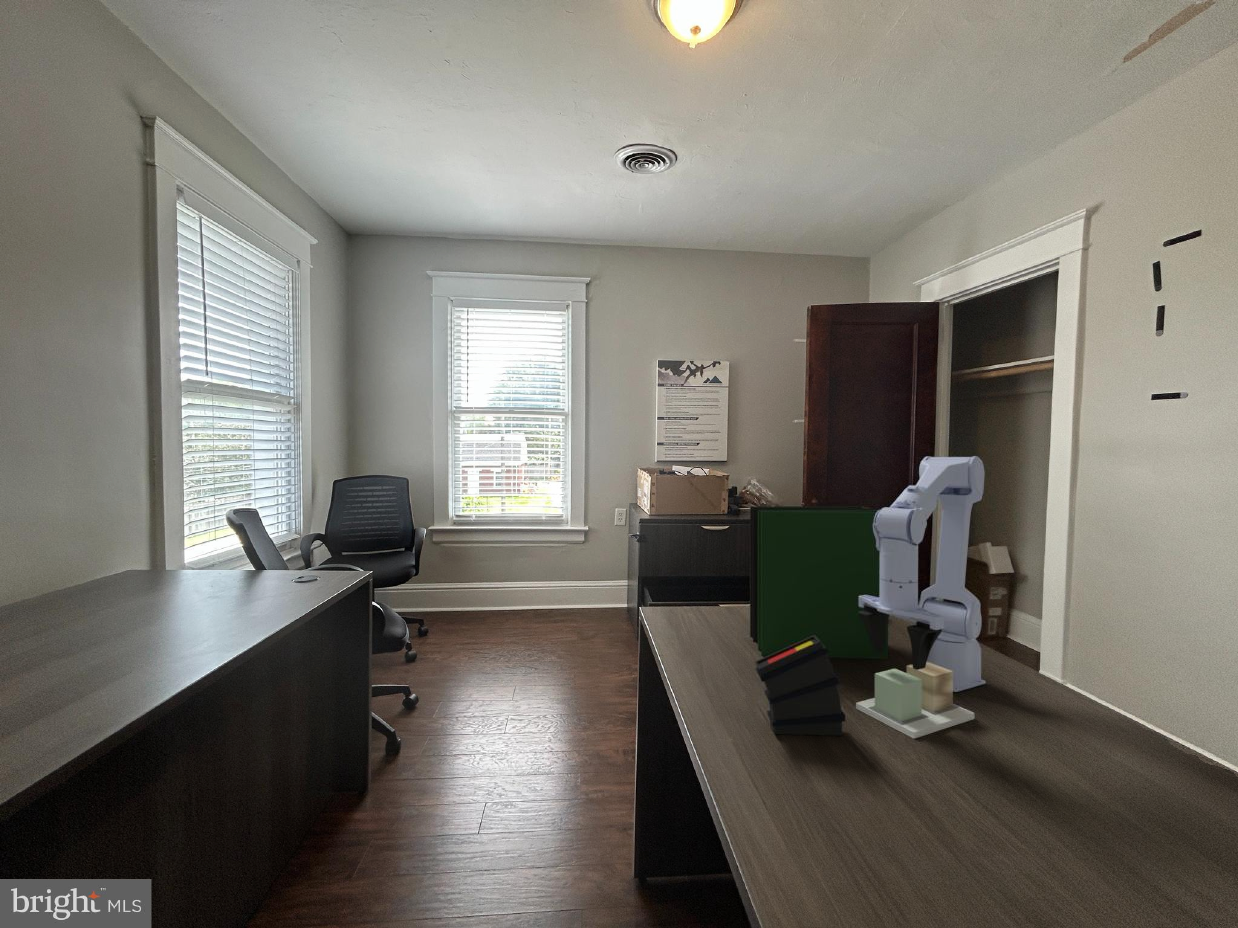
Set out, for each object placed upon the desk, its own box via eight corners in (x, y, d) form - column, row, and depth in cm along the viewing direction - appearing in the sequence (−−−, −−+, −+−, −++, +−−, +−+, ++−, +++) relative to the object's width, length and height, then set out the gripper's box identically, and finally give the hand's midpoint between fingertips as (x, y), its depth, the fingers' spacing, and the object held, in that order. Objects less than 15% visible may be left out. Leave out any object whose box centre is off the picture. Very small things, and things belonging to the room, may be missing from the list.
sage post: (894, 702, 93) (894, 668, 93) (921, 715, 88) (921, 679, 88) (874, 708, 91) (874, 673, 91) (900, 721, 86) (901, 684, 86)
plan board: (914, 692, 99) (914, 686, 99) (974, 718, 89) (974, 712, 89) (856, 708, 93) (856, 702, 93) (913, 738, 83) (913, 731, 83)
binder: (762, 656, 117) (762, 512, 117) (748, 634, 132) (749, 505, 132) (888, 658, 116) (888, 512, 115) (860, 635, 131) (860, 506, 130)
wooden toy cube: (925, 694, 96) (925, 661, 96) (952, 705, 91) (952, 671, 91) (906, 699, 94) (906, 665, 94) (933, 711, 89) (933, 676, 89)
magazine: (865, 727, 83) (823, 641, 83) (787, 761, 84) (746, 675, 84) (855, 715, 87) (815, 633, 87) (781, 748, 88) (742, 666, 88)
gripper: (846, 572, 94) (846, 649, 94) (922, 591, 81) (922, 680, 81) (874, 569, 97) (874, 643, 97) (952, 586, 84) (952, 672, 84)
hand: (898, 659), depth 89 cm, fingers open, 7 cm apart
